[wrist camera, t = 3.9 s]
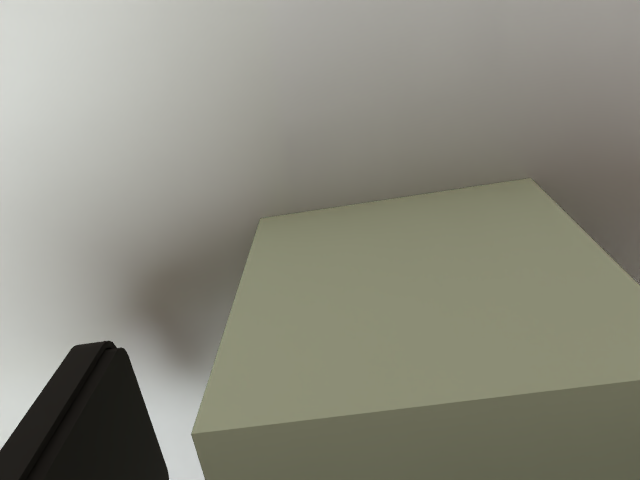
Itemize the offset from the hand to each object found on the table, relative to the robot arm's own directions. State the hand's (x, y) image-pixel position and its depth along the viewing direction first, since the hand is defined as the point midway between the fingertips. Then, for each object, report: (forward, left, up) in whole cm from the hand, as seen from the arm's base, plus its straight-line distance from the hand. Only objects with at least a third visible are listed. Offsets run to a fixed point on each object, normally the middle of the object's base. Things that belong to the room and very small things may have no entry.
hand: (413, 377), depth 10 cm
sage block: (0, 0, -2) cm, 2 cm away
